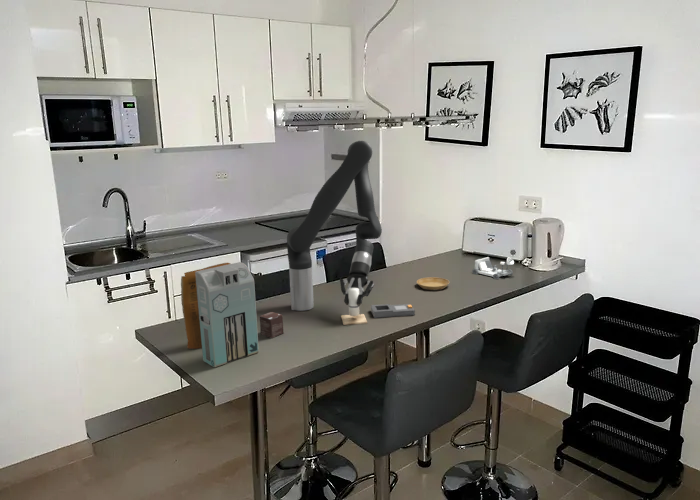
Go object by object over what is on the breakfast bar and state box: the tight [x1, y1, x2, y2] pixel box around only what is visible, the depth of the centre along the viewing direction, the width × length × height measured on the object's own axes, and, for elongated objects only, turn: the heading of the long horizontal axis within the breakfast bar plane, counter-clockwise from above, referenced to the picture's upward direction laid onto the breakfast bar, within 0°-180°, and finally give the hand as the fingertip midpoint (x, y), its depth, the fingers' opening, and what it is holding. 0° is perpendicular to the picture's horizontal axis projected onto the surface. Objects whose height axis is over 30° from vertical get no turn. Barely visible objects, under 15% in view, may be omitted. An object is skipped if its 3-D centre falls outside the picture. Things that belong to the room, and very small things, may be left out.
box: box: [259, 311, 284, 339], centre depth 202 cm, size 6×6×7 cm
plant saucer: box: [416, 276, 450, 291], centre depth 255 cm, size 15×15×3 cm
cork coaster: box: [340, 313, 368, 326], centre depth 215 cm, size 9×9×1 cm
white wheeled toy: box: [471, 256, 515, 280], centre depth 271 cm, size 18×10×12 cm
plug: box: [348, 288, 360, 316], centre depth 213 cm, size 4×4×10 cm
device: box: [195, 261, 260, 368], centre depth 180 cm, size 16×8×30 cm, turn 133°
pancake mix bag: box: [180, 262, 232, 350], centre depth 192 cm, size 7×19×28 cm, turn 127°
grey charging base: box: [370, 303, 416, 319], centre depth 221 cm, size 16×8×3 cm, turn 97°
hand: (352, 304), depth 211 cm, fingers closed on plug, 4 cm apart
